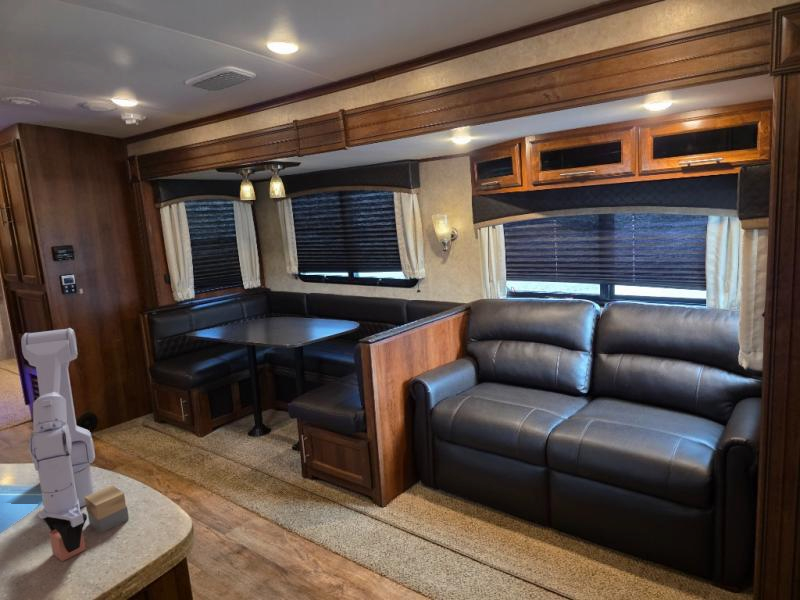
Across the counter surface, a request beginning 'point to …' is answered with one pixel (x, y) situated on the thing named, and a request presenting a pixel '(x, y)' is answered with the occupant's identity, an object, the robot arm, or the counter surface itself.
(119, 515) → the tower base
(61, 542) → the red block
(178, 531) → the counter surface
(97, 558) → the counter surface
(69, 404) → the robot arm
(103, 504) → the tower middle
